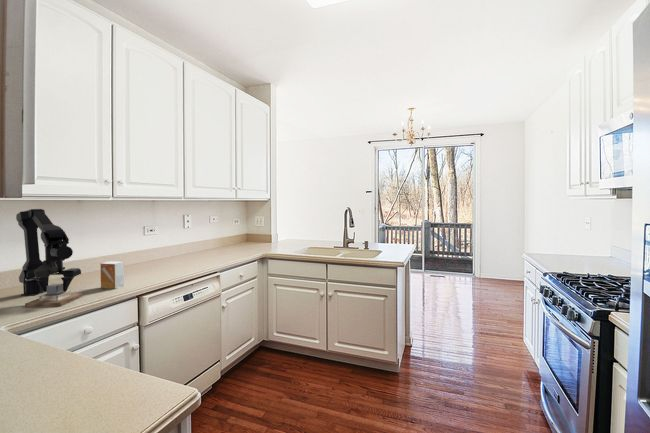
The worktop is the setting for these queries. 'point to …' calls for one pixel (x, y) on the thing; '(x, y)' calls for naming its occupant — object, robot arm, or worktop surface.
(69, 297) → the holder board
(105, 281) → the small box
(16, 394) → the worktop surface
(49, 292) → the steel pin
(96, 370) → the worktop surface
